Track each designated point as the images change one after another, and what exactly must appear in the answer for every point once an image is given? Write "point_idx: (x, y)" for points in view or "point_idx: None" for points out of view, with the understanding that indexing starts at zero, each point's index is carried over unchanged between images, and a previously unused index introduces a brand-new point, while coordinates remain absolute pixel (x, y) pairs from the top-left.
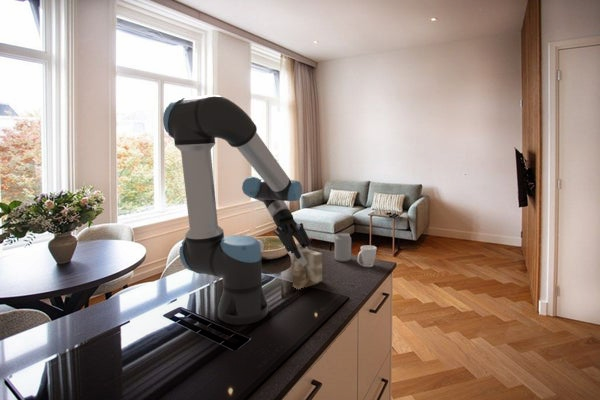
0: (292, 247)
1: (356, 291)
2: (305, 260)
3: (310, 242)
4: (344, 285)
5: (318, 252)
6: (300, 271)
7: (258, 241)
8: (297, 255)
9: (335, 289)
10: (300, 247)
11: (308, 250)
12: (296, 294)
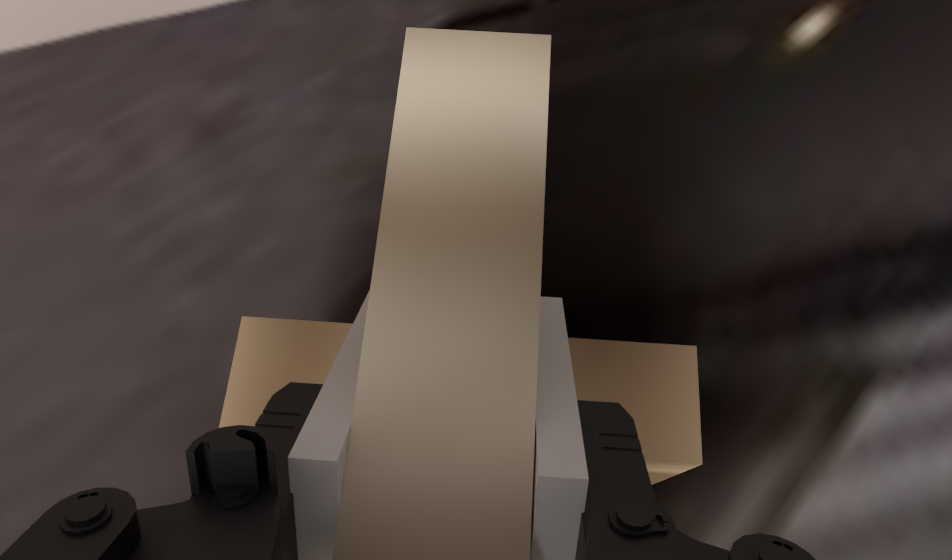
0: (742, 544)
1: (304, 49)
2: (552, 318)
3: (68, 507)
4: (254, 175)
5: (406, 96)
6: (649, 347)
7: None
8: (634, 438)
9: (381, 176)
10: None
11: (433, 303)
12: (717, 342)
